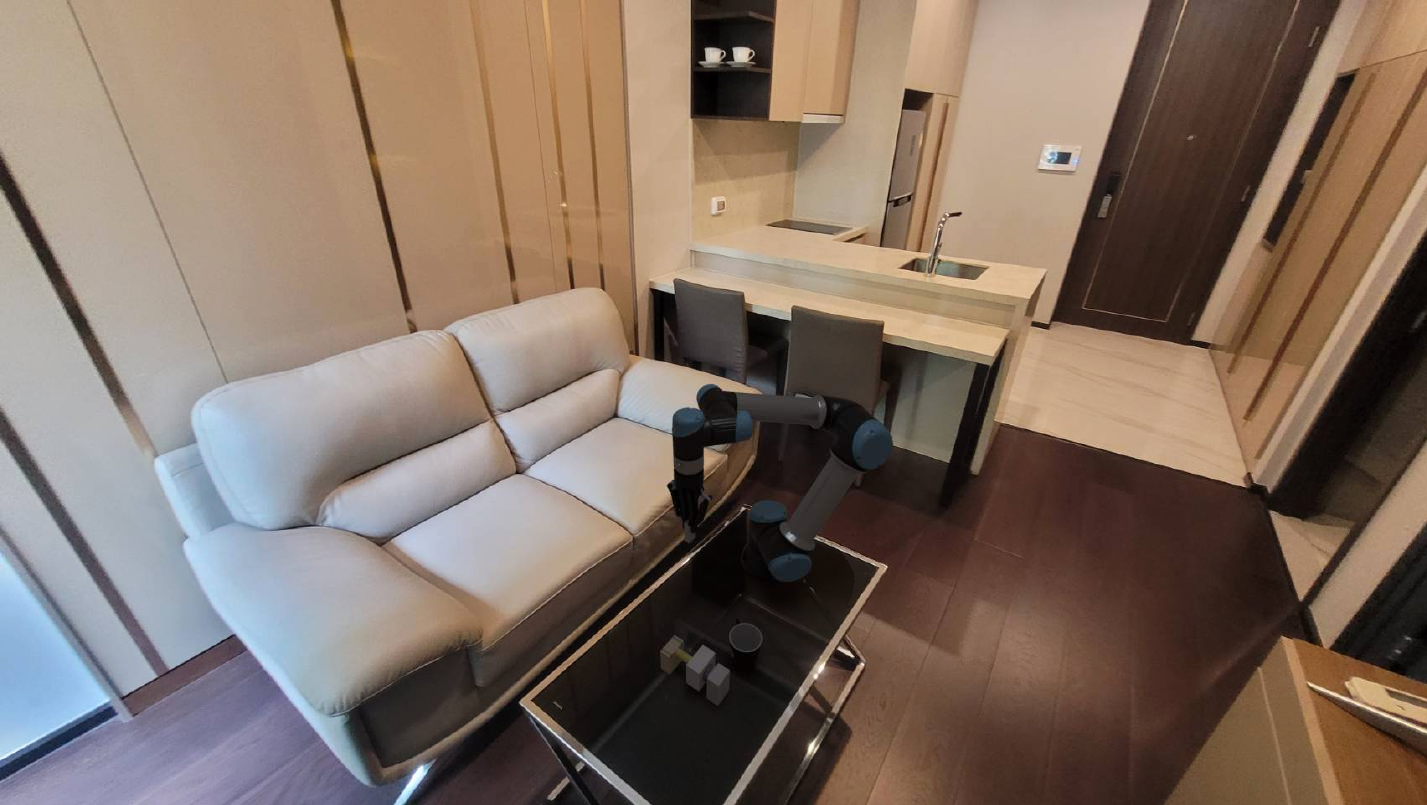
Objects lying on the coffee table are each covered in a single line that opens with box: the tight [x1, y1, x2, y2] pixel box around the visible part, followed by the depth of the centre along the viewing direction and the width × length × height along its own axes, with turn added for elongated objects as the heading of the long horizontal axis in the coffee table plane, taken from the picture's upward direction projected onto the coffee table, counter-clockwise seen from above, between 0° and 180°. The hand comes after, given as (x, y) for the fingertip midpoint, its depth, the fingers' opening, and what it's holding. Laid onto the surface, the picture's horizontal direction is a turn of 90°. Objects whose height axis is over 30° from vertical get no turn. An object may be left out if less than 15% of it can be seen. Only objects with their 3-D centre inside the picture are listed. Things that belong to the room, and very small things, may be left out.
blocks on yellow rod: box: [659, 634, 731, 707], centre depth 134 cm, size 18×6×8 cm, turn 55°
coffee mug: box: [728, 617, 763, 674], centre depth 139 cm, size 12×9×10 cm
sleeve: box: [685, 644, 717, 692], centre depth 132 cm, size 4×7×7 cm, turn 145°
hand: (690, 539), depth 140 cm, fingers closed
